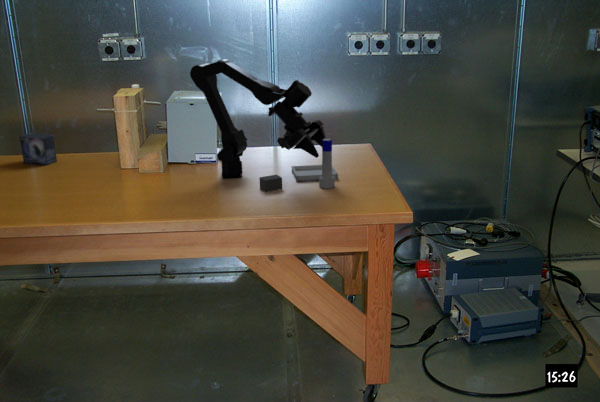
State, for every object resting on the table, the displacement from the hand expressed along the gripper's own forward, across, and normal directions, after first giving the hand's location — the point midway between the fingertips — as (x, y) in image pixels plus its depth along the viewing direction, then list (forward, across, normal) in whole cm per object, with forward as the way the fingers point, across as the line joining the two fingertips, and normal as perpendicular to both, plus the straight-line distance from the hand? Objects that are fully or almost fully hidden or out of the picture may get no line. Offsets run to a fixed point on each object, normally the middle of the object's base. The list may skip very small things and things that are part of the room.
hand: (323, 153), depth 198 cm
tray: (+3, -10, -13) cm, 16 cm away
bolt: (+9, 0, -7) cm, 11 cm away
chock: (-3, +8, -18) cm, 20 cm away
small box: (-70, +10, -84) cm, 110 cm away
